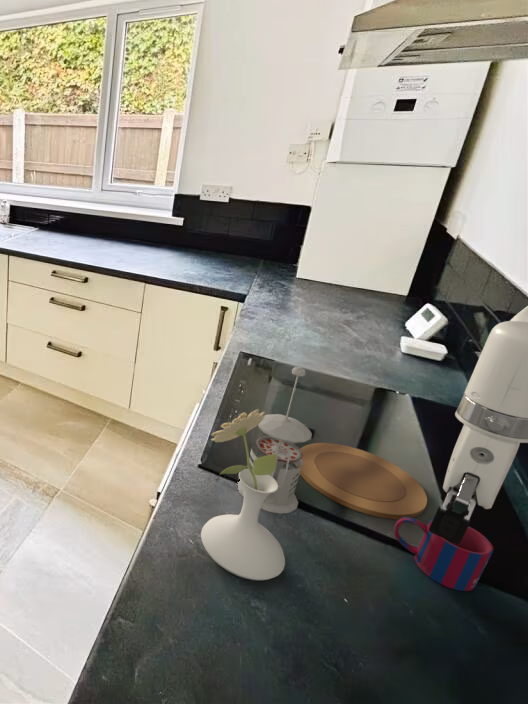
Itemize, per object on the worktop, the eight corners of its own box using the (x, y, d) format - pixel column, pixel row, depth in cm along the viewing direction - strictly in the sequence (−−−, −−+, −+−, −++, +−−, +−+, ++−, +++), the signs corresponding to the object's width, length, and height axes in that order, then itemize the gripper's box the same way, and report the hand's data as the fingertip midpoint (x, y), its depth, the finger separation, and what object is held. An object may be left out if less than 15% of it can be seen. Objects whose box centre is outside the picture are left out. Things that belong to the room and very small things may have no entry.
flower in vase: (258, 526, 74) (293, 390, 66) (299, 589, 64) (347, 436, 55) (178, 525, 74) (203, 389, 65) (206, 587, 63) (240, 435, 55)
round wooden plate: (435, 484, 85) (437, 479, 84) (412, 538, 72) (414, 533, 72) (315, 435, 99) (316, 431, 99) (278, 474, 86) (279, 469, 86)
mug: (472, 600, 62) (491, 563, 60) (382, 555, 69) (396, 519, 67) (477, 573, 67) (495, 537, 64) (392, 532, 74) (405, 498, 71)
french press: (296, 485, 84) (331, 362, 75) (301, 528, 74) (343, 393, 65) (237, 468, 88) (264, 350, 79) (235, 508, 78) (266, 377, 69)
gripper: (537, 456, 51) (477, 570, 57) (542, 407, 62) (491, 507, 68) (448, 426, 56) (402, 534, 62) (467, 385, 67) (426, 480, 73)
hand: (449, 520), depth 65 cm, fingers open, 9 cm apart
